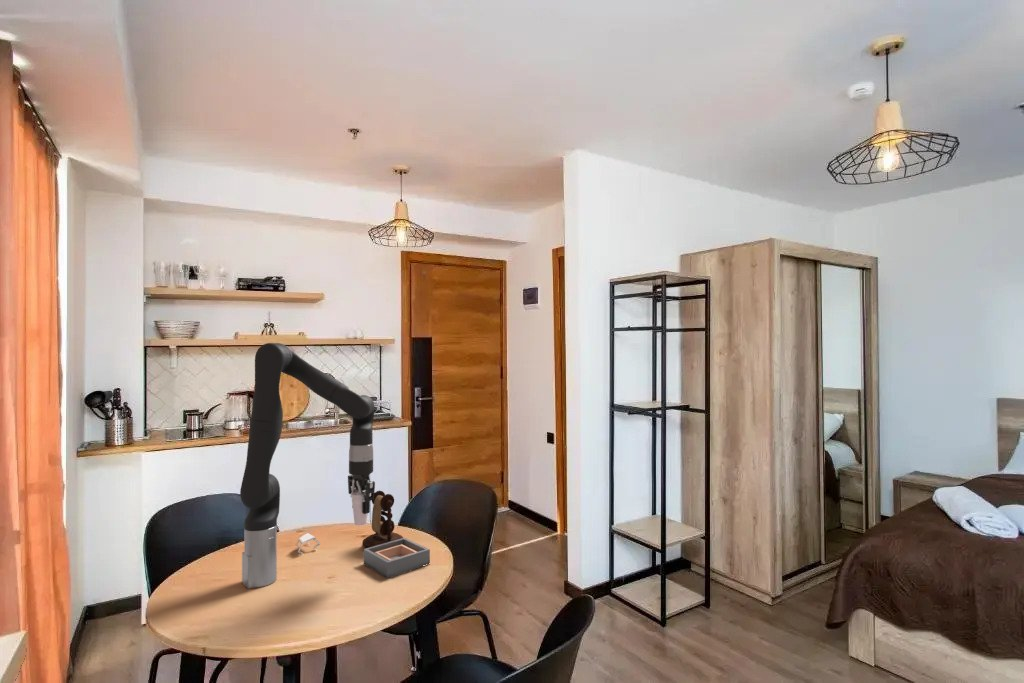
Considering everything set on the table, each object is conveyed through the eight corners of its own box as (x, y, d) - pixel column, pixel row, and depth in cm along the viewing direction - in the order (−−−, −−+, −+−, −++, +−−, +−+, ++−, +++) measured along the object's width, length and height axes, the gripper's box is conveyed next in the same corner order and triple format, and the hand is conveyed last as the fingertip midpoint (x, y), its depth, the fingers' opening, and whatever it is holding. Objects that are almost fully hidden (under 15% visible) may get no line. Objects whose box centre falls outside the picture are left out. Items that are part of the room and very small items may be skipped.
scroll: (355, 546, 196) (355, 492, 196) (390, 536, 206) (390, 485, 206) (374, 557, 185) (374, 500, 185) (410, 547, 195) (410, 492, 195)
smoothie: (373, 520, 171) (373, 476, 172) (368, 526, 165) (368, 481, 165) (353, 520, 171) (353, 477, 172) (347, 526, 165) (348, 481, 165)
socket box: (387, 578, 167) (387, 562, 167) (363, 564, 179) (363, 549, 179) (429, 564, 178) (429, 549, 178) (404, 551, 190) (404, 537, 190)
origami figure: (321, 553, 189) (321, 539, 189) (296, 557, 186) (296, 543, 186) (318, 542, 200) (318, 529, 200) (294, 546, 196) (294, 533, 197)
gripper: (339, 456, 171) (339, 508, 171) (360, 463, 161) (360, 518, 160) (361, 453, 176) (361, 504, 176) (383, 459, 166) (382, 513, 165)
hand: (360, 510), depth 168 cm, fingers closed on smoothie, 6 cm apart
